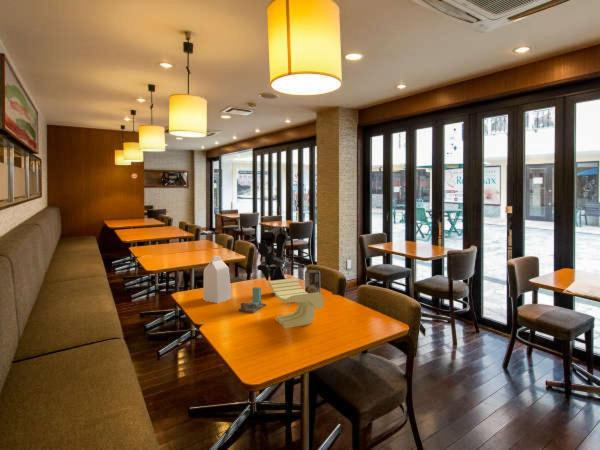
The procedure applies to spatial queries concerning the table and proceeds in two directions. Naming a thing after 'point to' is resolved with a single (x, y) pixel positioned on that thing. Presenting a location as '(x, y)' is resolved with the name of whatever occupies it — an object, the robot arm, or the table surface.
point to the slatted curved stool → (294, 293)
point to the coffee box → (312, 281)
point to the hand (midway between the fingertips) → (269, 279)
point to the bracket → (253, 308)
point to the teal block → (256, 296)
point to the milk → (216, 281)
